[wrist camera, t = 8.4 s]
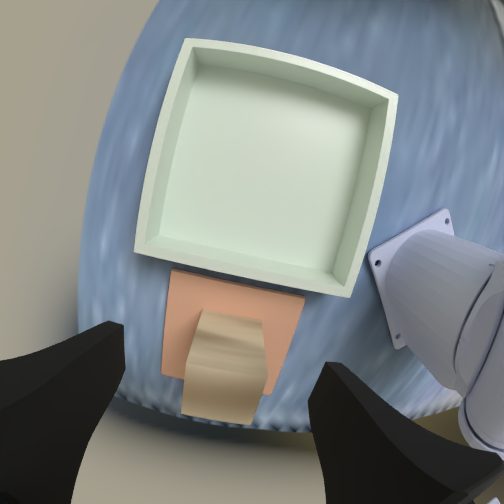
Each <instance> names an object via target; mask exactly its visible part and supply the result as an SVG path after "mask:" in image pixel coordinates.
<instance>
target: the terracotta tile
mask: <svg viewBox="0 0 504 504" xmlns="http://www.w3.org/2000/svg"><path fill="white" fill-rule="evenodd" d="M305 300H306V298H305V296H302V295H297V294H292V293H287V292H282V291H277V290H272V289H267V288H262V287H257V286H252V285H247V284H242V283H238V282H233V281H228V280H224V279H219V278H214V277H210V276H205V275H201V274H197V273H192V272H188V271H183V270H179V269H175V268H173V269H172V270H171V276H170V284H169V291H168V300H167V309H166V318H165V328H164V339H163V352H162V366H161V374H163V375H167V376H171V377H175V378H179V379H183V380H184V377H185V368H186V362H187V358H188V355H189V352H190V348H191V345H192V342H193V339H194V335H195V332H196V329H197V326H198V323H199V319H200V316H201V313H202V310H203V309H207V310H211V311H216V312H221V313H226V314H232V315H237V316H242V317H248V318H253V319H259V320H262V329H263V337H264V346H265V355H266V364H267V372H268V379H267V382H266V385H265V387H264V390H263V393H262V394H267V395H271V394H272V391H273V389H274V386H275V384H276V381H277V378H278V376H279V373H280V371H281V368H282V365H283V363H284V360H285V357H286V355H287V352H288V349H289V346H290V344H291V341H292V338H293V335H294V332H295V330H296V327H297V324H298V321H299V318H300V315H301V312H302V309H303V306H304V303H305Z"/></svg>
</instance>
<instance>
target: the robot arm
mask: <svg viewBox="0 0 504 504" xmlns="http://www.w3.org/2000/svg"><path fill="white" fill-rule="evenodd" d="M445 219H446V223H445ZM368 260H369V263H370V266H371V269H372V272H373V275H374V278H375V281H376V285H377V288H378V291H379V294H380V298H381V301H382V305H383V308H384V312H385V315H386V319H387V323H388V326H389V330H390V334H391V338H392V342H393V346H394V348H395V349H401V348H402V347H404V346H405V345H407V346H408V347H409V348H410V350H411V351H412V352H413V353H414V354H415V355H416V356H417V358H418V359H419V360H420V361H421V362H422V363H423V365H424V366H425V367H426V368H427V369H428V370H429V372H430V373H431V374H432V375H433V376H434V378H435V379H436V380H437V381H438V382H439V383H440V384H441V385H442V386H444V387H446V388H448V389H452V390H457V392H458V393H459V394H460V395H461V396H462V398H463V400H462V402H461V404H460V408H459V412H458V414H459V415H458V420H459V426H460V429H461V432H462V434H463V436H464V437H465V439H466V441H467V442H468V443H469V445H470V446H471V447H472V448H471V447H467V446H464V445H461V444H458V443H455V442H452V441H450V440H447V439H445V438H443V437H441V436H439V435H436V434H434V433H432V432H430V431H428V430H426V429H425V428H423V427H421V426H420V425H418V424H416V423H415V422H413V421H411V420H410V419H408V418H407V417H405V416H404V415H402V414H401V413H400V412H398V411H397V410H396V409H394V408H393V407H392V406H390V405H389V404H388V403H387V402H385V401H384V400H383V399H382V398H381V397H379V396H378V395H377V394H376V393H375V392H374V391H373V390H371V389H370V388H369V387H368V386H367V385H366V384H365V383H364V382H362V381H361V380H360V379H359V378H358V377H357V376H356V375H355V374H354V373H352V372H351V371H350V370H349V369H348V368H347V367H345V366H344V365H343V364H342V363H337V362H325V364H324V367H323V369H322V371H321V373H320V376H319V378H318V380H317V382H316V384H315V387H314V389H313V391H312V393H311V395H310V397H309V399H308V408H309V418H310V425H311V429H312V433H313V437H314V441H315V444H316V449H317V452H318V456H319V460H320V464H321V468H322V472H323V477H324V485H325V494H326V504H475V503H474V501H473V499H475V498H476V497H477V496H478V495H480V494H481V493H482V492H483V491H484V490H485V489H487V488H488V487H489V486H490V485H491V484H493V483H494V482H495V481H496V480H497V479H498V478H499V477H500V476H501V475H502V474H503V473H504V461H503V460H504V254H501V253H499V252H496V251H494V250H491V249H489V248H486V247H483V246H481V245H478V244H475V243H472V242H470V241H467V240H464V239H461V238H458V237H455V236H454V231H453V226H452V222H451V217H450V213H449V211H448V210H447V209H444V208H443V209H441V210H439V211H437V212H436V213H434V214H432V215H431V216H429V217H427V218H426V219H424V220H422V221H421V222H419V223H417V224H416V225H414V226H412V227H411V228H409V229H407V230H405V231H404V232H402V233H400V234H399V235H397V236H395V237H393V238H392V239H390V240H388V241H386V242H384V243H383V244H381V245H379V246H377V247H375V248H374V249H372V250H371V251H370V252H369V253H368ZM377 260H379V263H378V264H377V265H375V262H376V261H377ZM397 334H398V336H396V335H397ZM124 371H125V353H124V325H122V324H118V323H115V322H112V321H106V322H104V323H101V324H99V325H97V326H95V327H93V328H91V329H88V330H86V331H84V332H82V333H80V334H78V335H76V336H73V337H71V338H69V339H67V340H65V341H62V342H60V343H57V344H55V345H52V346H50V347H47V348H45V349H42V350H40V351H37V352H34V353H31V354H28V355H25V356H20V357H17V358H13V359H7V360H2V361H0V504H71V499H72V495H73V490H74V486H75V482H76V478H77V475H78V471H79V468H80V465H81V462H82V459H83V456H84V453H85V450H86V448H87V445H88V442H89V440H90V438H91V436H92V434H93V432H94V430H95V428H96V426H97V425H98V423H99V421H100V419H101V417H102V416H103V414H104V412H105V410H106V408H107V407H108V405H109V403H110V401H111V400H112V398H113V396H114V394H115V393H116V391H117V389H118V386H119V384H120V381H121V379H122V376H123V374H124ZM487 504H500V503H499V501H498V499H497V498H494V499H493V500H491V501H490V502H488V503H487Z"/></svg>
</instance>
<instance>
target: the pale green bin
mask: <svg viewBox="0 0 504 504" xmlns="http://www.w3.org/2000/svg"><path fill="white" fill-rule="evenodd" d="M397 102H398V95H397V94H395V93H393V92H391V91H389V90H387V89H385V88H383V87H381V86H379V85H376V84H374V83H372V82H369V81H367V80H365V79H362V78H360V77H358V76H355V75H352V74H350V73H347V72H345V71H342V70H339V69H336V68H334V67H331V66H328V65H325V64H322V63H319V62H315V61H312V60H309V59H305V58H302V57H298V56H295V55H291V54H287V53H283V52H279V51H274V50H270V49H265V48H260V47H255V46H250V45H244V44H238V43H231V42H223V41H215V40H205V39H192V38H185V41H184V43H183V46H182V48H181V51H180V54H179V56H178V59H177V62H176V65H175V68H174V70H173V73H172V76H171V79H170V82H169V85H168V89H167V92H166V95H165V98H164V102H163V105H162V108H161V112H160V116H159V119H158V123H157V127H156V131H155V135H154V139H153V143H152V147H151V151H150V156H149V160H148V165H147V170H146V175H145V180H144V185H143V191H142V197H141V202H140V209H139V215H138V222H137V230H136V237H135V246H134V252H135V253H139V254H144V255H148V256H152V257H156V258H160V259H164V260H169V261H173V262H177V263H182V264H186V265H190V266H195V267H199V268H204V269H208V270H213V271H217V272H222V273H226V274H231V275H236V276H240V277H245V278H250V279H255V280H259V281H264V282H269V283H274V284H279V285H284V286H289V287H294V288H299V289H304V290H309V291H314V292H320V293H325V294H330V295H336V296H341V297H346V298H350V296H351V294H352V291H353V288H354V285H355V282H356V279H357V276H358V273H359V270H360V267H361V264H362V261H363V258H364V255H365V252H366V248H367V245H368V242H369V238H370V235H371V231H372V228H373V224H374V220H375V216H376V213H377V209H378V205H379V201H380V197H381V192H382V188H383V184H384V179H385V174H386V170H387V165H388V160H389V154H390V149H391V143H392V137H393V131H394V124H395V118H396V110H397Z"/></svg>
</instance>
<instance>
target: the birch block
mask: <svg viewBox="0 0 504 504" xmlns="http://www.w3.org/2000/svg"><path fill="white" fill-rule="evenodd" d="M267 379H268V372H267V364H266V355H265V346H264V337H263V329H262V320H259V319H253V318H248V317H242V316H237V315H232V314H226V313H221V312H216V311H211V310H207V309H203V310H202V313H201V316H200V319H199V323H198V326H197V329H196V332H195V335H194V339H193V342H192V345H191V348H190V352H189V355H188V358H187V362H186V368H185V377H184V387H183V397H182V408H181V414H186V415H190V416H195V417H200V418H205V419H211V420H217V421H223V422H230V423H237V424H245V425H251V423H252V420H253V418H254V415H255V412H256V410H257V407H258V404H259V401H260V399H261V396H262V393H263V390H264V387H265V385H266V382H267Z"/></svg>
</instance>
